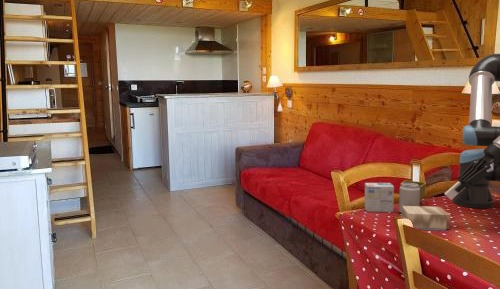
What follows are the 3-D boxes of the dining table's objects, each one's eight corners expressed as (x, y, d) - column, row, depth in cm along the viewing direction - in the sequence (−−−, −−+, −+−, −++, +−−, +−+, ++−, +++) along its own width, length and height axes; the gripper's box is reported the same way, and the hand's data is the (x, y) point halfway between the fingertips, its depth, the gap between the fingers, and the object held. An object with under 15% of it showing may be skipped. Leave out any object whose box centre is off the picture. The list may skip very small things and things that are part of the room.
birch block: (441, 206, 151) (402, 205, 153) (450, 215, 141) (408, 213, 143) (440, 219, 151) (401, 218, 153) (449, 228, 142) (407, 227, 144)
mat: (435, 219, 153) (435, 218, 153) (446, 230, 140) (446, 230, 140) (399, 218, 155) (399, 217, 155) (407, 229, 142) (407, 228, 142)
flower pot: (404, 199, 181) (405, 179, 180) (425, 202, 176) (426, 182, 174) (399, 204, 174) (399, 183, 172) (420, 207, 169) (421, 186, 167)
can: (395, 211, 164) (396, 182, 162) (413, 210, 165) (414, 181, 163) (404, 216, 157) (405, 186, 155) (422, 216, 157) (423, 185, 156)
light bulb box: (389, 207, 169) (390, 182, 168) (393, 212, 162) (394, 186, 161) (363, 207, 170) (364, 182, 169) (366, 212, 163) (367, 185, 162)
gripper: (518, 161, 134) (462, 209, 138) (499, 155, 147) (448, 199, 151) (501, 145, 134) (446, 193, 138) (484, 140, 147) (434, 185, 151)
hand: (447, 196), depth 145 cm, fingers closed
